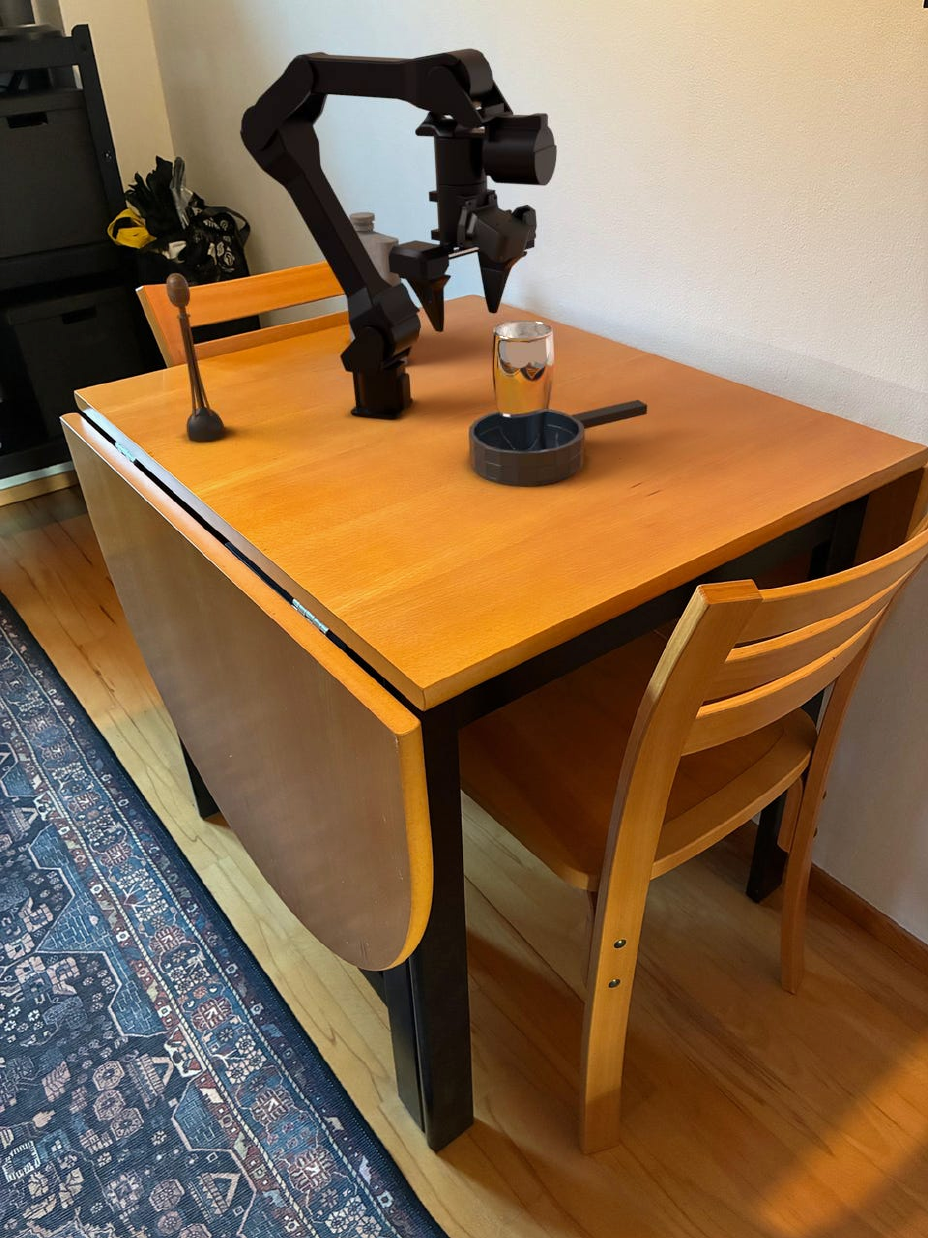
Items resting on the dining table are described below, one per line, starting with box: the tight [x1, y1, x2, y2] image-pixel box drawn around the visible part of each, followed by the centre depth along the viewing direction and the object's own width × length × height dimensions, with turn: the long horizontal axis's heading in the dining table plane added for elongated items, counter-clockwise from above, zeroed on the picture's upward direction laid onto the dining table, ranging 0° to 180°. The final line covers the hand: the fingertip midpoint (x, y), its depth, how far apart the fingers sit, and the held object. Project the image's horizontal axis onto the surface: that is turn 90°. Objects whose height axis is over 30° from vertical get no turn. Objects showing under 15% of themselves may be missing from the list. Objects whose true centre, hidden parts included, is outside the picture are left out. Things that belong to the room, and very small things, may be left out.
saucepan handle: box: [570, 399, 648, 430], centre depth 115 cm, size 10×2×1 cm, turn 116°
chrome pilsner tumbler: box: [491, 319, 556, 451], centre depth 109 cm, size 7×7×15 cm
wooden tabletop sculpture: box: [165, 272, 227, 443], centre depth 119 cm, size 6×5×20 cm
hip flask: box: [345, 211, 408, 366], centre depth 142 cm, size 16×4×20 cm, turn 29°
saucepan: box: [468, 408, 586, 487], centre depth 112 cm, size 13×13×4 cm
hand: (466, 321), depth 116 cm, fingers open, 9 cm apart
